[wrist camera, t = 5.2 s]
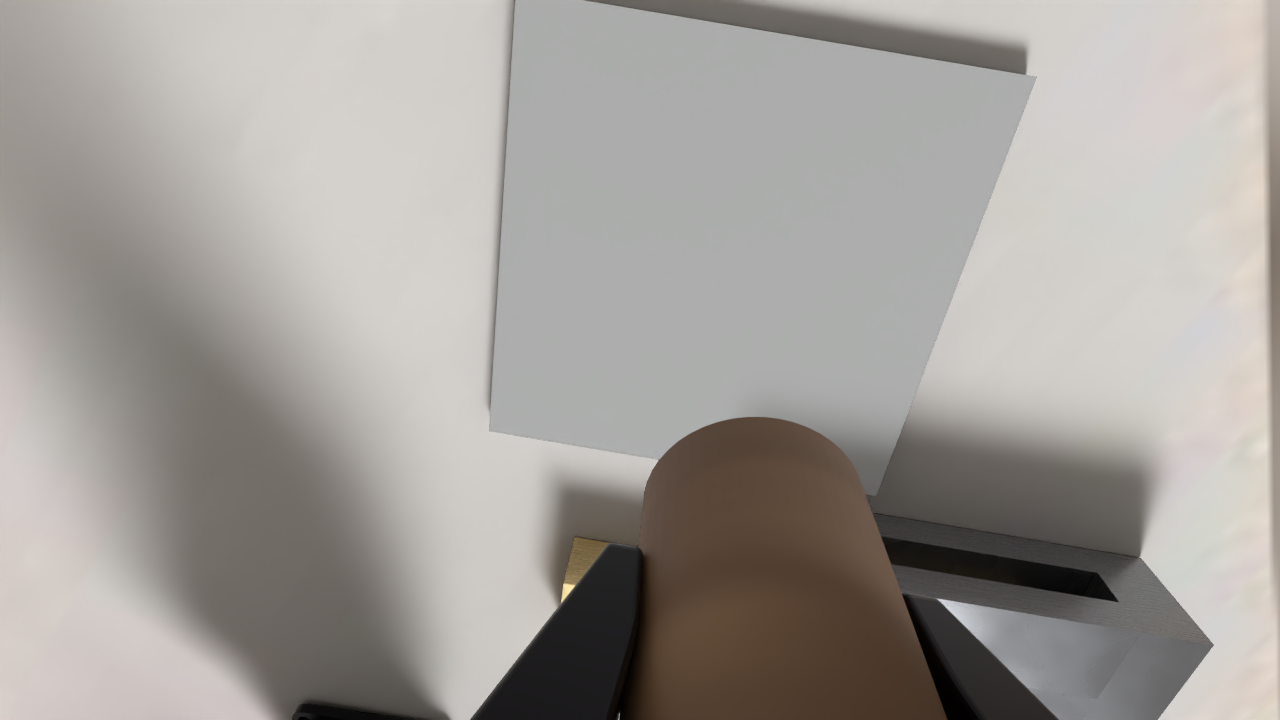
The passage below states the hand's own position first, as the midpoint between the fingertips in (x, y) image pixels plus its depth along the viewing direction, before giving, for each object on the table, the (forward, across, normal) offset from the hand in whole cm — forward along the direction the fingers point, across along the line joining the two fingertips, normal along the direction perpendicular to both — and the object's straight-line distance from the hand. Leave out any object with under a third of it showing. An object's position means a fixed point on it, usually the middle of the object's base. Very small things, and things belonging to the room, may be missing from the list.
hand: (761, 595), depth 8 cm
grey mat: (+12, 0, 0) cm, 12 cm away
